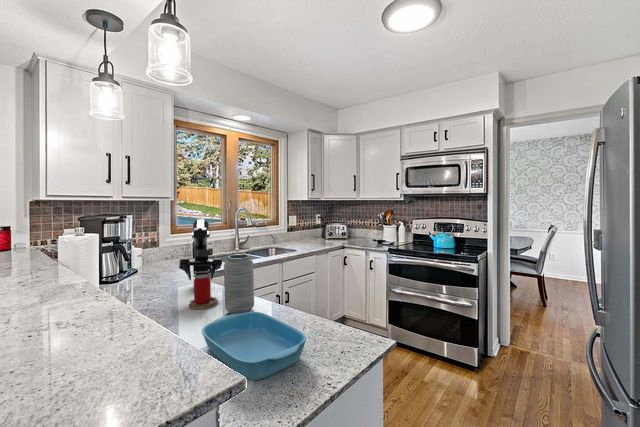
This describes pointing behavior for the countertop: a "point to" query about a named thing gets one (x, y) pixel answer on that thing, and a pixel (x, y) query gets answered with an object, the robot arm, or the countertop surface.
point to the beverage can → (202, 289)
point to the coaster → (205, 306)
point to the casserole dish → (254, 343)
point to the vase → (239, 284)
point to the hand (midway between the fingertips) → (201, 280)
